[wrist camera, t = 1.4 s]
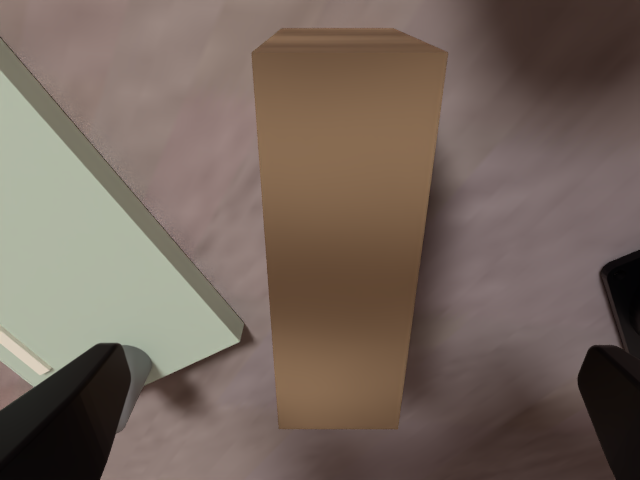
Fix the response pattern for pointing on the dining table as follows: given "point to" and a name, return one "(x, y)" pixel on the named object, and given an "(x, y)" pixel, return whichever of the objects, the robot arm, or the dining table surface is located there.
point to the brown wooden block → (344, 214)
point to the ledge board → (88, 255)
